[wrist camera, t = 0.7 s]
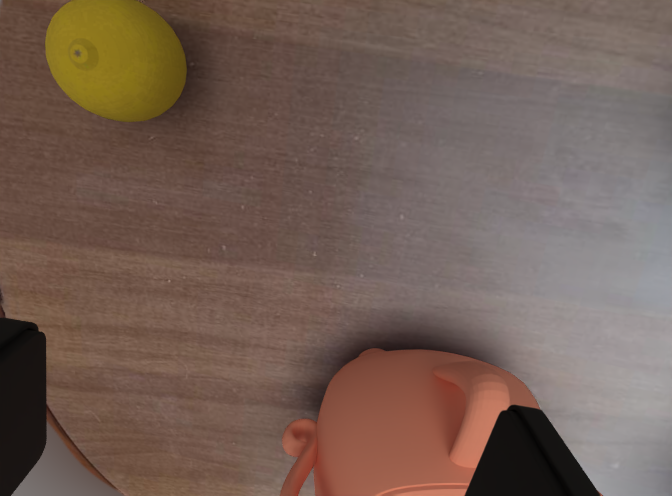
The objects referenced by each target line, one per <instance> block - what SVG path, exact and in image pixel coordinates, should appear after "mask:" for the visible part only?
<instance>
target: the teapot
mask: <svg viewBox="0 0 672 496" xmlns="http://www.w3.org/2000/svg"><path fill="white" fill-rule="evenodd" d="M511 405H520V406H526V407H531V408H537V409H540V408H539V406H538V403H537V401H536V399H535V398H534V396H533V395H532V393H531V392H530V390H529V389H528V388H527V386H526V385H525V384H524V383H523V382H522V381H521V380H519V379H518V378H517V377H515V376H514V375H512V374H511V373H509V372H507V371H505V370H503V369H501V368H499V367H497V366H494V365H491V364H489V363H486V362H483V361H480V360H477V359H474V358H471V357H467V356H462V355H458V354H453V353H449V352H442V351H434V350H421V349H413V350H395V351H384V350H382V349H378V348H372V349H368V350H365V351H364V352H362V353H361V354H360V355H359V356H358V358H356V359H354V360H352V361H350V362H349V363H347V364H346V365H345V366H343V367H342V368H341V369H340V370H339V371H338V372H337V373H336V374H335V375H334V377H333V378H332V380H331V381H330V383H329V385H328V387H327V390H326V393H325V396H324V399H323V402H322V404H321V408H320V412H319V416H318V420H317V422H315V421H313V420H311V419H298V420H295V421H293V422H291V423H290V424H289V425H288V426H287V428H286V429H285V431H284V434H283V437H282V444H283V448H284V450H285V451H286V453H287V454H289V455H290V456H293V457H298V459H297V461H296V462H295V464H294V465H293V467H292V468H291V470H290V472H289V474H288V476H287V477H286V480H285V482H284V484H283V487H282V490H281V493H280V496H298V494H299V491H300V489H301V487H302V485H303V483H304V481H305V480H306V478H307V476H308V475H309V473H310V471H311V470H312V468H313V466H314V485H315V496H465V493H466V491H467V488H468V486H469V484H470V481H471V479H472V477H473V474H474V472H475V470H476V467H477V465H478V463H479V460H480V458H481V455H482V453H483V451H484V448H485V446H486V444H487V441H488V439H489V437H490V434H491V432H492V429H493V427H494V425H495V422H496V420H497V418H498V415H499V414H500V412H501V411H502V410H507V409H508V407H509V406H511ZM599 494H600V495H601V496H603V495H602V494H601V493H600V492H599Z"/></svg>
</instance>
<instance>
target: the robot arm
mask: <svg viewBox="0 0 672 496" xmlns="http://www.w3.org/2000/svg"><path fill="white" fill-rule="evenodd" d="M45 445H46V336H45V334H44V333H43V332H39V330H38V327H37V325H36V324H35V323H32V322H26V321H20V320H14V319H9V318H0V496H11V495H12V494H13V492H14V491H15V490H16V488H17V487H18V486H19V484H20V483H21V482H22V481H23V480H24V478H25V477H26V476H27V474H28V473H29V472H30V471H31V469H32V468H33V467H34V465H35V464H36V463H37V461H38V460H39V459H40V457H41V455H42V453H43V451H44V448H45ZM465 496H601V495H600V494H599V492H598V491H597V490H596V488H595V487H594V485H593V484H592V482H591V481H590V479H589V478H588V476H587V475H586V474H585V472H584V471H583V469H582V468H581V466H580V465H579V463H578V462H577V460H576V459H575V457H574V456H573V455H572V453H571V452H570V450H569V449H568V447H567V446H566V444H565V443H564V441H563V440H562V438H561V437H560V436H559V434H558V433H557V431H556V430H555V428H554V427H553V425H552V424H551V422H550V421H549V419H548V418H547V417H546V415H545V414H544V413H543V412H542V410H540V409H537V408H531V407H526V406H520V405H511V406H509V407H508V409H507V410H502V411H501V412H500V414H499V415H498V418H497V420H496V422H495V425H494V427H493V429H492V432H491V434H490V437H489V439H488V441H487V444H486V446H485V448H484V451H483V453H482V455H481V458H480V460H479V463H478V465H477V467H476V470H475V472H474V474H473V477H472V479H471V481H470V484H469V486H468V488H467V491H466V493H465Z"/></svg>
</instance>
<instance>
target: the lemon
mask: <svg viewBox="0 0 672 496" xmlns="http://www.w3.org/2000/svg"><path fill="white" fill-rule="evenodd" d="M45 48H46V58H47V61H48V64H49V67H50V70H51V73H52V75H53V76H54V78H55V80H56V81H57V83H58V85H59V86H60V87H61V88H62V90H63V91H64V92H65V93H66V94H67V95H68V96H69V97H70V98H71V99H72V100H73V101H75V102H76V103H77V104H79V105H80V106H81V107H83V108H84V109H86V110H88V111H90V112H92V113H95V114H97V115H99V116H101V117H104V118H107V119H112V120H117V121H123V122H135V121H145V120H148V119H151V118H154V117H156V116H159V115H161V114H162V113H164V112H165V111H166V110H168V109H169V108H170V107H172V106H173V105H174V103H175V102H176V101H177V99H178V98H179V97H180V95H181V93H182V90H183V88H184V85H185V81H186V73H187V67H186V58H185V54H184V51H183V48H182V46H181V43H180V41H179V39H178V37H177V36H176V34H175V33H174V31H173V29H172V28H171V27H170V25H169V24H168V23H167V22H166V21H165V20H164V19H163V18H162V17H161V16H160V15H159V14H158V13H156V12H155V11H153V10H152V9H150V8H149V7H147V6H146V5H144V4H142V3H141V2H139V1H136V0H72V1H70V2H69V3H67V4H65V5H64V6H62V7H61V8H60V9H59V11H58V12H57V13H56V14H55V15H54V16H53V18H52V20H51V22H50V24H49V27H48V29H47V34H46V41H45Z"/></svg>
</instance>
